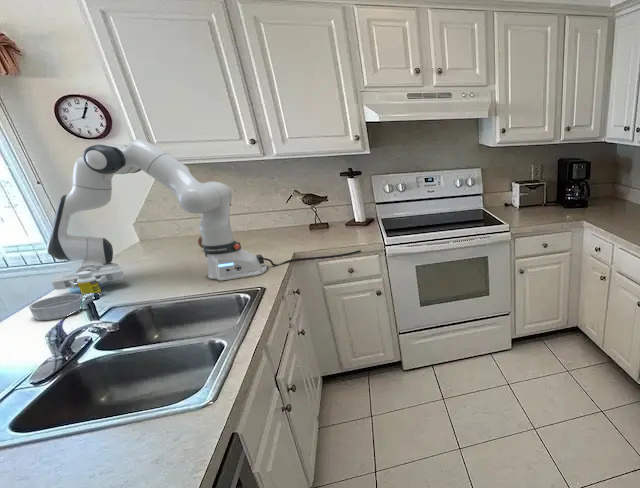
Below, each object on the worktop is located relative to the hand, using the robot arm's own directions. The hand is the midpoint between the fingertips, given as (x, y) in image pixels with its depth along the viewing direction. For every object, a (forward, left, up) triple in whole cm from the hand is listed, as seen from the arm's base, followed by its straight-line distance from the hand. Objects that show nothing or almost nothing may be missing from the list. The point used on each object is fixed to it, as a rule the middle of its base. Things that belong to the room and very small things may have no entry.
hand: (87, 283), depth 155 cm
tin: (-27, -63, -6) cm, 69 cm away
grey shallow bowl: (+3, +14, -5) cm, 15 cm away
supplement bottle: (0, -1, -6) cm, 6 cm away
